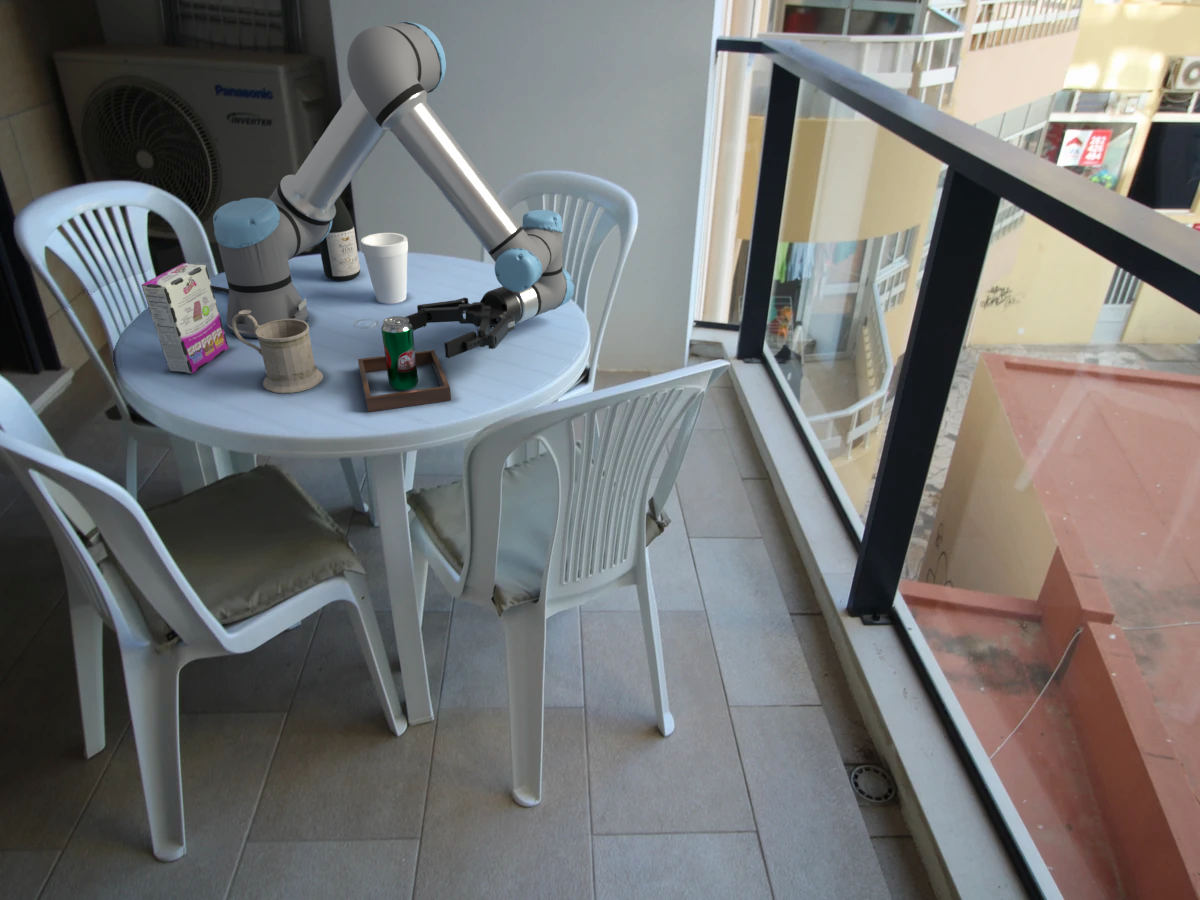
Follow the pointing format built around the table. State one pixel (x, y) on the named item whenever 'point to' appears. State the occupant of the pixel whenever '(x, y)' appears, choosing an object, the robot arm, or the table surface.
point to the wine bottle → (340, 246)
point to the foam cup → (387, 265)
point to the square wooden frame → (408, 396)
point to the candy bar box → (186, 317)
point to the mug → (284, 354)
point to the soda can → (399, 353)
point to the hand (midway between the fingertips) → (420, 339)
